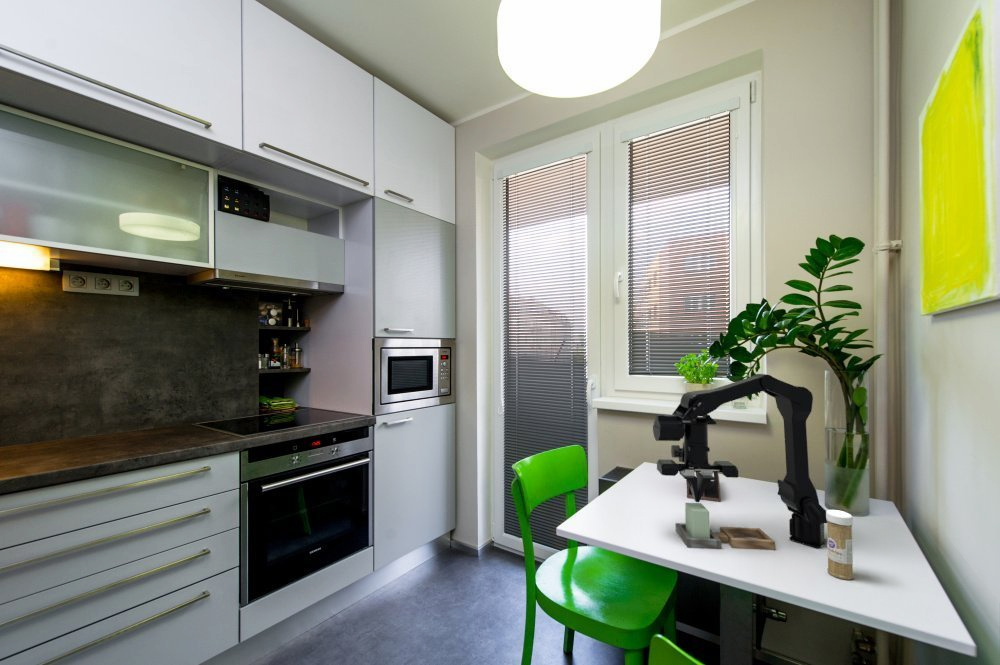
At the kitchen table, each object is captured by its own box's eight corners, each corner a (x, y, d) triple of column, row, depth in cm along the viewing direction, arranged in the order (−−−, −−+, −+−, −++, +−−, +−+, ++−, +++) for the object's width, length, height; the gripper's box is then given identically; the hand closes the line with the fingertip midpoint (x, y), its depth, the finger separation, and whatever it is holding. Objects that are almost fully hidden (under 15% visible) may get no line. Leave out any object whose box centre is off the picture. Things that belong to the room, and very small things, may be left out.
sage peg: (709, 543, 109) (709, 511, 109) (693, 543, 109) (692, 510, 109) (701, 533, 115) (700, 503, 115) (685, 532, 115) (685, 502, 115)
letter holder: (686, 498, 143) (686, 455, 143) (686, 481, 161) (685, 443, 161) (720, 502, 139) (719, 458, 139) (716, 484, 157) (715, 445, 158)
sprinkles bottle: (822, 572, 95) (821, 510, 96) (835, 568, 97) (834, 507, 98) (846, 582, 91) (844, 518, 92) (859, 578, 93) (857, 514, 93)
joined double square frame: (757, 534, 115) (757, 526, 115) (777, 551, 105) (777, 543, 105) (675, 530, 117) (675, 523, 117) (687, 547, 107) (687, 539, 107)
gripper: (721, 435, 120) (722, 492, 119) (651, 434, 122) (652, 490, 121) (738, 444, 109) (740, 507, 108) (661, 442, 111) (662, 504, 110)
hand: (696, 501), depth 112 cm, fingers closed
